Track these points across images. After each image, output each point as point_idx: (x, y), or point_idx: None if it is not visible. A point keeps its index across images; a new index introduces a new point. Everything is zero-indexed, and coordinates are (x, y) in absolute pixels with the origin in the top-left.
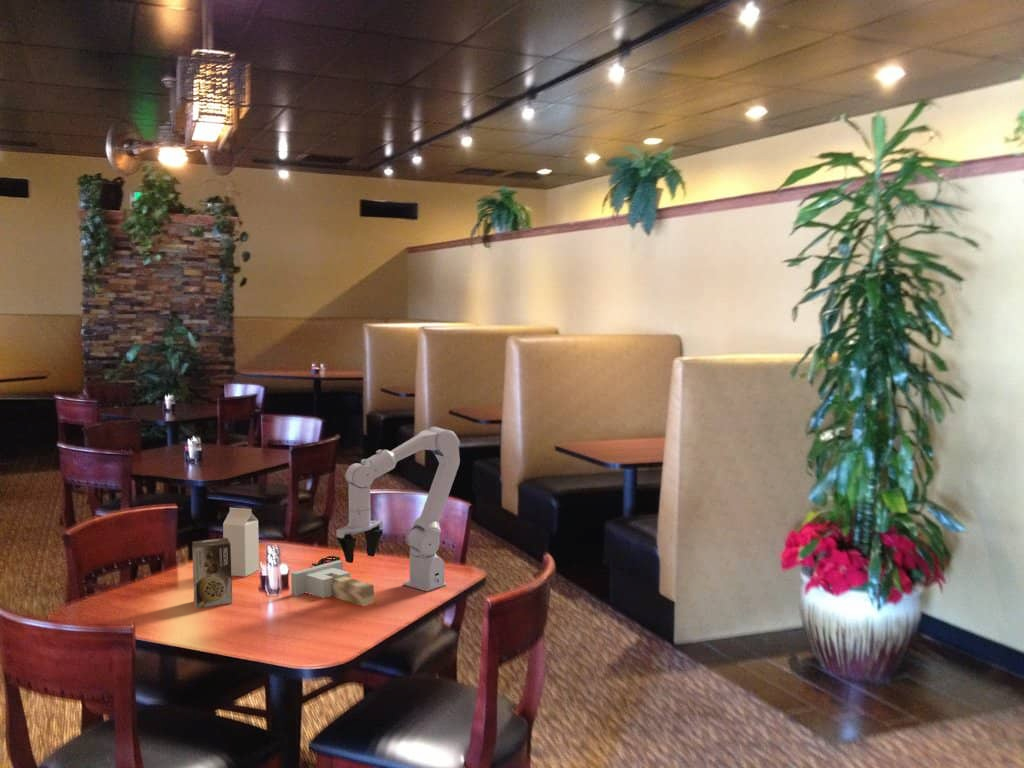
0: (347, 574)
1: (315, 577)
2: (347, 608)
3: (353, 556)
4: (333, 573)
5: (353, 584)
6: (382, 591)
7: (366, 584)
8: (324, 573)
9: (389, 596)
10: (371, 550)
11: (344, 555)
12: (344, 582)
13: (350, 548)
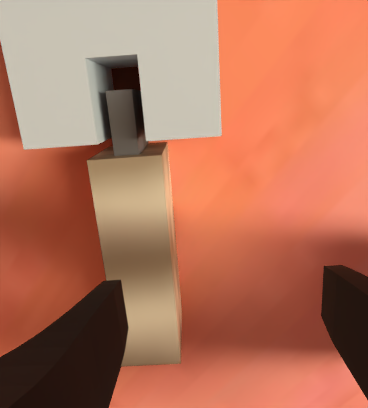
0: (204, 135)
1: (8, 69)
2: (77, 293)
3: (116, 373)
4: (139, 77)
5: None
6: (297, 235)
7: (160, 340)
8: (95, 33)
9: (270, 297)
10: (344, 335)
11: (79, 302)
12: (101, 249)
13: None
